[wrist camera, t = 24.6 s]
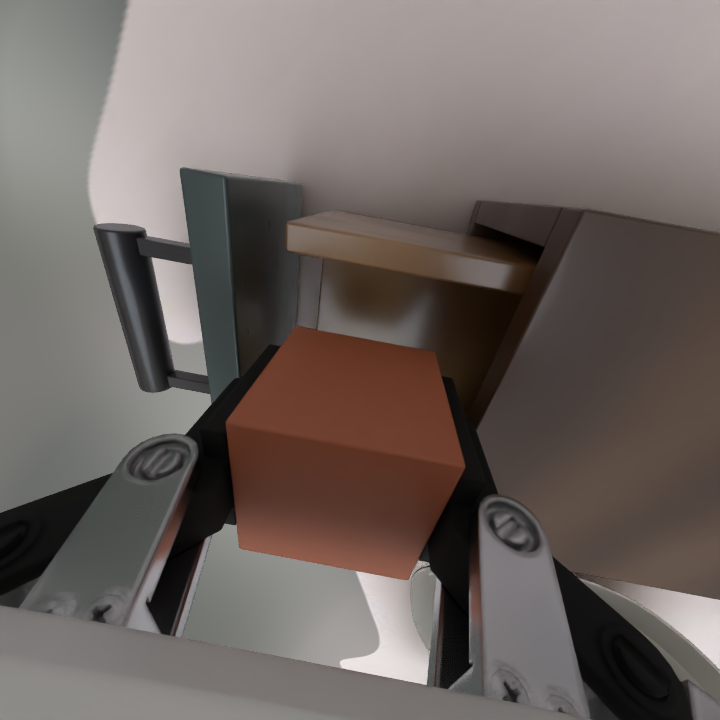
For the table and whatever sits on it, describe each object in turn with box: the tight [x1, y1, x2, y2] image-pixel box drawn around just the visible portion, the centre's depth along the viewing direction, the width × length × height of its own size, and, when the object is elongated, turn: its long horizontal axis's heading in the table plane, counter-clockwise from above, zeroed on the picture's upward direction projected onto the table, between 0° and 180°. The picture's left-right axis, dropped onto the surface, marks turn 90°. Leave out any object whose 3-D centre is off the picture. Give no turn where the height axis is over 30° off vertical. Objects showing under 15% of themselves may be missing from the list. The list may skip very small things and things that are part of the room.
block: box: [226, 326, 465, 580], centre depth 8 cm, size 4×4×4 cm
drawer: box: [93, 167, 544, 419], centre depth 13 cm, size 19×12×7 cm, turn 81°
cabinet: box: [466, 200, 720, 600], centre depth 13 cm, size 15×13×9 cm
